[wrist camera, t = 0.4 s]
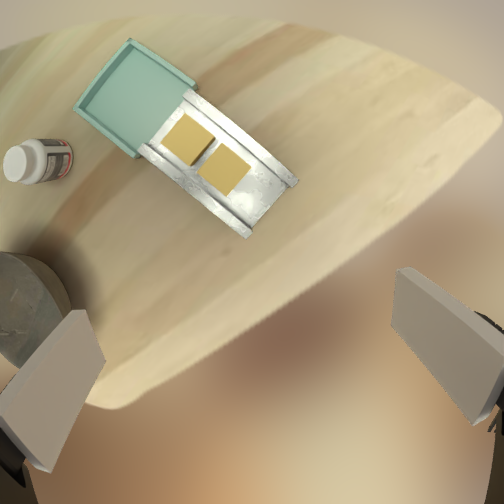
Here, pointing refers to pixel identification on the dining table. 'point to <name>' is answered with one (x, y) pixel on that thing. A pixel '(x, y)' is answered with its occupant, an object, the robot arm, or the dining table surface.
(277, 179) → the slot rail
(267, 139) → the dining table surface
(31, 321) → the bowl
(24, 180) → the pill bottle
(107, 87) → the tray
